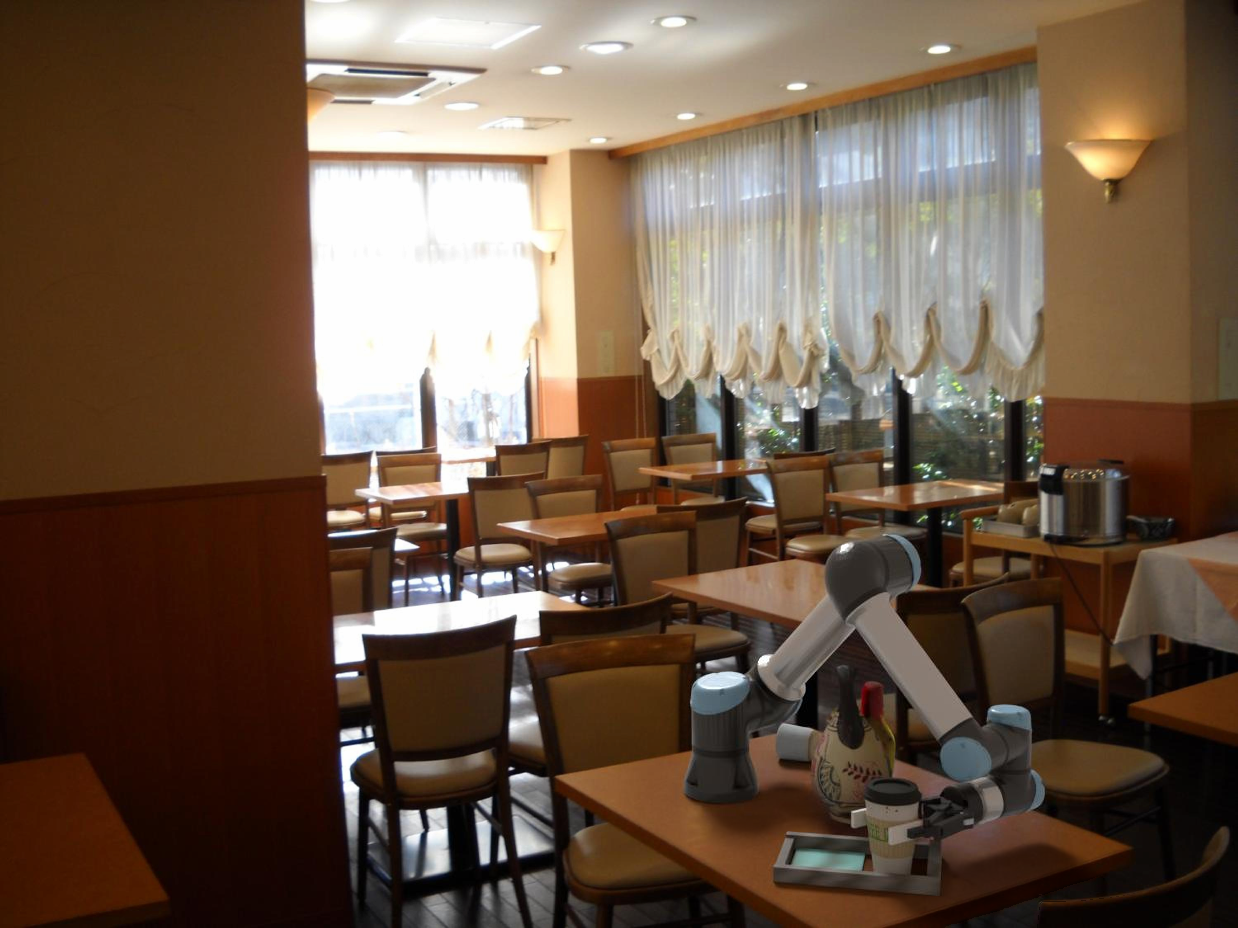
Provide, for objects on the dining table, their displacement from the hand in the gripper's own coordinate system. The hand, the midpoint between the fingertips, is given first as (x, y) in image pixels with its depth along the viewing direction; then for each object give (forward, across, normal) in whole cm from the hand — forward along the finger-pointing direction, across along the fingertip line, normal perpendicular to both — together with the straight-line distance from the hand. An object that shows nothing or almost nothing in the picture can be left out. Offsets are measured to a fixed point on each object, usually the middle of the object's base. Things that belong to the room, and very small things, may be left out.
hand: (871, 827), depth 216 cm
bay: (-1, +4, -8) cm, 9 cm away
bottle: (-36, +42, -9) cm, 56 cm away
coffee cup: (-5, 0, -9) cm, 10 cm away
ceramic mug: (-31, +60, -9) cm, 68 cm away
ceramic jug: (-16, +24, -9) cm, 30 cm away
